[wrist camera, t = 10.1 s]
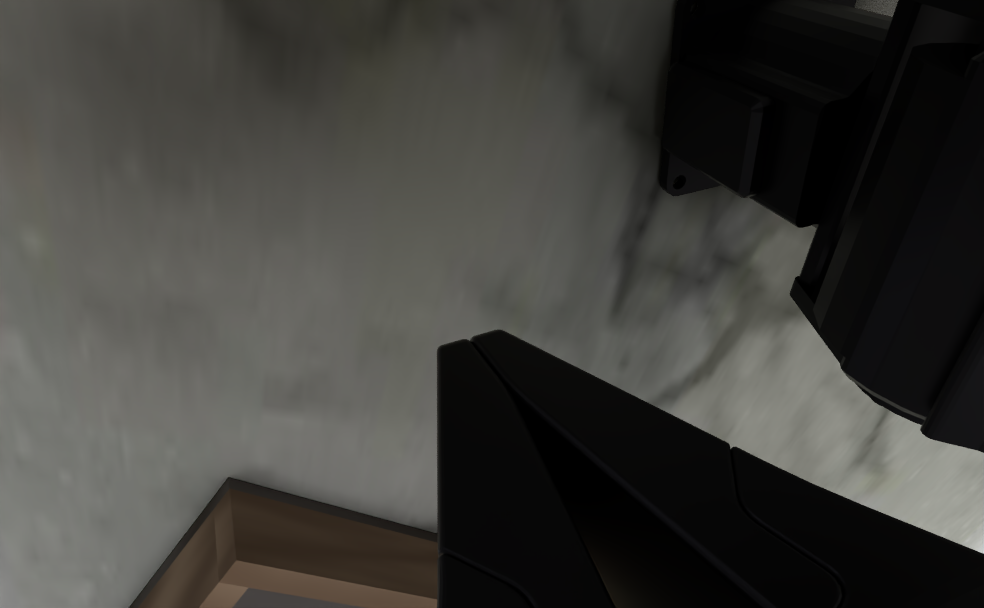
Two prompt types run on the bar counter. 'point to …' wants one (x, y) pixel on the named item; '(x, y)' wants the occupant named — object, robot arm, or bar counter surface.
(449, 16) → the bar counter surface
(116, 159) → the bar counter surface
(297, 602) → the tray box
